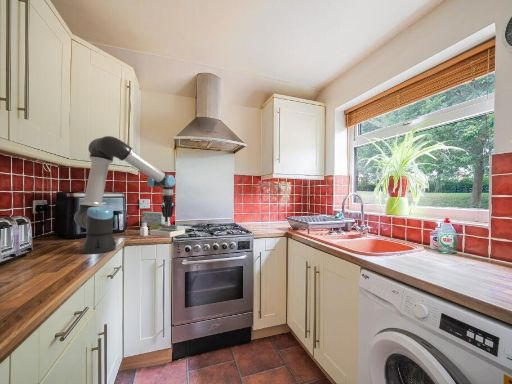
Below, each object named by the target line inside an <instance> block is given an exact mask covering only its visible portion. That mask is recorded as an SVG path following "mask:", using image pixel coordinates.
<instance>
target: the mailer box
mask: <svg viewBox="0 0 512 384" xmlns="http://www.w3.org/2000/svg"><path fill="white" fill-rule="evenodd" d="M185 234H186V229H182V230H171V229H161V228H159V229H153V230H149V236H155V237H156V236H157V237H163V238H164V237H165V238H172V237H177V236H181V235H185Z"/></svg>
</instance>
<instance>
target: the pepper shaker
mask: <svg viewBox="0 0 512 384" xmlns="http://www.w3.org/2000/svg"><path fill="white" fill-rule="evenodd" d="M139 230H140V231H139V235H140V237H147V236H149V230H148V227H147V223H142V227H140V229H139Z"/></svg>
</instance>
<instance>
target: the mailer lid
mask: <svg viewBox="0 0 512 384" xmlns="http://www.w3.org/2000/svg"><path fill="white" fill-rule="evenodd" d="M158 228H161V229H171V230H182V229H185V230H187V229H191V228H192V226H189V225H178V224H177V225H176V224H170V225H169V226H165V224H161V227H158Z"/></svg>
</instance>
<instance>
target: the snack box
mask: <svg viewBox="0 0 512 384" xmlns="http://www.w3.org/2000/svg"><path fill="white" fill-rule="evenodd" d="M142 223H147V227H148V229H149V230H148V231H150V230H153V229H159V228H158V227H161V224H165V217H163V214H162V211H161V212H160V211H158V212H157V211H141V223H140V225H141V227H142ZM141 227H140V228H141Z"/></svg>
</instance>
